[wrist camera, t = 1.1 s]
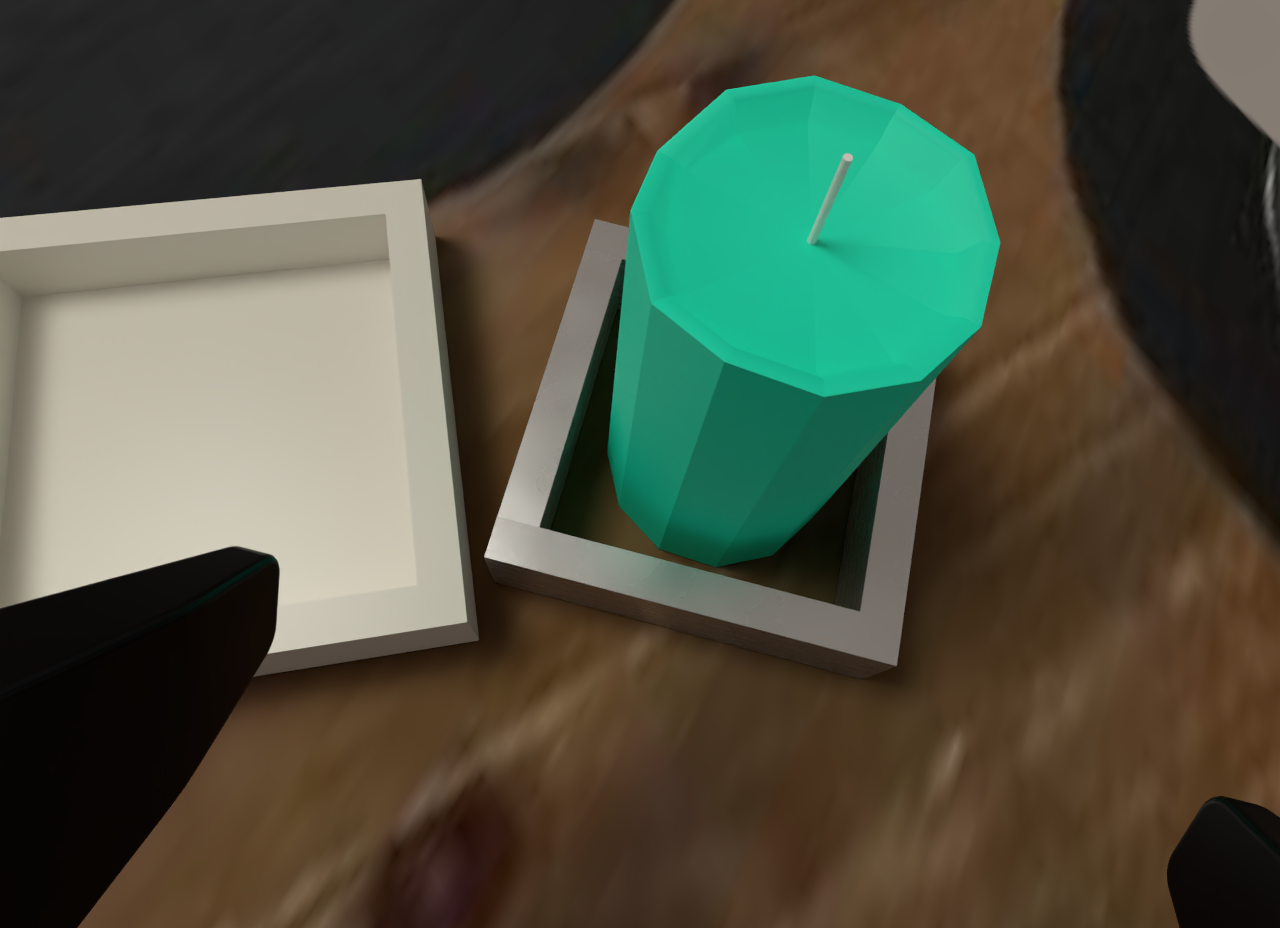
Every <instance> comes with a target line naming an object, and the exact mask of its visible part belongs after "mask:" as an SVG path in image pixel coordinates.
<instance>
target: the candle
mask: <svg viewBox="0 0 1280 928" xmlns="http://www.w3.org/2000/svg"><path fill="white" fill-rule="evenodd" d="M999 246H1000V240H999V236H998V233H997V230H996V226H995V223H994V220H993V216H992V213H991V210H990V206H989V203H988V199H987V196H986V193H985V189H984V186H983V183H982V179H981V176H980V173H979V169H978V166H977V163H976V159H975V156H974V154H972V153H971V152H969V151H968V150H967V149H965V148H964V147H962V146H961V145H959V144H958V143H956V142H955V141H953V140H952V139H951V138H949V137H948V136H946V135H945V134H943V133H942V132H940V131H939V130H938V129H936V128H935V127H933V126H932V125H930V124H929V123H927V122H926V121H924V120H923V119H922V118H920V117H919V116H917V115H916V114H914V113H913V112H911V111H910V110H908V109H907V108H906V107H904V106H903V105H901V104H899V103H896V102H893V101H889V100H886V99H883V98H880V97H877V96H874V95H871V94H868V93H865V92H862V91H859V90H856V89H853V88H850V87H847V86H844V85H841V84H838V83H835V82H832V81H829V80H826V79H823V78H820V77H817V76H809V77H803V78H796V79H790V80H784V81H778V82H772V83H765V84H759V85H753V86H747V87H741V88H734V89H728V90H726V91H725V92H723V93H722V94H721V95H720V96H719V97H718V98H717V99H715V100H714V101H713V102H712V103H711V104H710V105H709V106H707V107H706V108H705V109H704V110H703V111H702V112H701V113H700V114H698V115H697V116H696V117H695V118H694V119H693V120H692V121H690V122H689V123H688V124H687V125H686V126H685V127H684V128H683V129H681V130H680V131H679V132H678V133H677V134H676V135H675V136H673V137H672V138H671V139H670V140H669V141H668V142H667V143H666V144H664V145H663V146H662V147H661V148H660V149H659V150H658V151H657V153H656V155H655V157H654V160H653V162H652V164H651V166H650V169H649V171H648V173H647V175H646V177H645V180H644V182H643V184H642V186H641V188H640V191H639V193H638V195H637V197H636V200H635V202H634V204H633V206H632V208H631V213H630V223H629V233H628V243H627V254H626V264H625V274H624V285H623V295H622V305H621V315H620V326H619V336H618V346H617V356H616V367H615V377H614V387H613V398H612V408H611V418H610V428H609V439H608V449H607V454H608V459H609V463H610V468H611V472H612V477H613V481H614V486H615V490H616V495H617V499H618V504H619V507H620V508H621V509H622V510H623V511H624V512H625V513H626V514H627V515H628V516H629V517H630V518H631V519H632V521H633V522H634V523H635V524H636V525H637V526H638V527H639V528H640V529H641V530H642V531H643V532H644V533H645V534H646V536H647V537H648V538H649V539H650V540H651V541H652V542H653V543H654V544H655V545H656V546H657V547H658V548H659V549H661V550H664V551H667V552H670V553H673V554H677V555H680V556H683V557H686V558H689V559H692V560H695V561H698V562H701V563H704V564H707V565H710V566H714V567H719V566H724V565H729V564H734V563H738V562H743V561H748V560H753V559H758V558H763V557H768V556H772V555H773V554H775V553H776V552H777V551H778V550H779V549H780V548H781V547H782V546H783V545H784V544H785V543H786V542H787V541H788V540H790V539H791V538H792V537H793V536H794V535H795V534H796V533H797V532H798V531H799V530H800V529H801V528H802V527H803V526H805V525H806V524H807V523H808V522H809V521H810V520H811V519H812V518H813V517H814V516H815V515H816V513H817V512H818V511H819V510H820V509H821V508H822V507H823V506H824V504H825V503H826V502H827V501H828V500H829V499H830V498H831V496H832V495H833V494H834V493H835V492H836V491H837V490H838V489H839V487H840V486H841V485H842V484H843V483H844V482H845V481H846V479H847V478H848V477H849V476H850V475H851V474H852V473H853V472H854V470H855V469H856V468H857V467H858V466H859V465H860V464H861V462H862V461H863V460H864V459H865V458H866V457H867V456H868V454H869V453H870V452H871V451H872V450H873V449H874V448H875V447H876V445H877V444H878V443H879V442H880V441H881V440H882V439H883V437H884V436H885V435H886V434H887V433H888V432H889V431H890V430H891V428H892V427H893V426H894V425H895V424H896V423H897V422H898V420H899V419H900V418H901V417H902V416H903V415H904V414H905V412H906V411H907V410H908V409H909V408H910V407H911V406H912V405H913V403H914V402H915V401H916V400H917V399H918V398H919V397H920V395H921V394H922V393H923V392H924V391H925V390H926V389H927V388H928V386H929V385H930V384H931V383H932V382H933V381H934V380H935V378H936V377H937V376H938V375H939V374H940V373H941V372H942V370H943V369H944V368H945V367H946V366H947V365H948V364H949V363H950V361H951V360H952V359H953V358H954V357H955V356H956V355H957V353H958V352H959V351H960V350H961V349H962V348H963V347H964V346H965V344H966V343H967V342H968V341H969V340H970V339H971V338H972V336H973V335H974V334H975V333H976V332H977V331H978V330H979V329H980V327H981V325H982V320H983V316H984V312H985V307H986V303H987V299H988V294H989V290H990V285H991V281H992V277H993V272H994V268H995V264H996V259H997V255H998V251H999Z"/></svg>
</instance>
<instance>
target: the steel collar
mask: <svg viewBox="0 0 1280 928" xmlns="http://www.w3.org/2000/svg"><path fill="white" fill-rule="evenodd" d="M628 233H629V228H628V227H624V226H620V225H616V224H612V223H608V222H604V221H600V220H597V219H595V221H594V224H593V227H592V230H591V233H590V236H589V239H588V242H587V245H586V248H585V251H584V254H583V257H582V260H581V263H580V266H579V269H578V273H577V276H576V279H575V282H574V285H573V288H572V291H571V294H570V297H569V300H568V303H567V306H566V309H565V312H564V315H563V318H562V321H561V324H560V327H559V330H558V333H557V336H556V340H555V343H554V346H553V349H552V352H551V355H550V358H549V361H548V364H547V367H546V370H545V373H544V376H543V379H542V382H541V385H540V388H539V391H538V394H537V397H536V400H535V403H534V406H533V410H532V413H531V416H530V419H529V422H528V425H527V428H526V431H525V434H524V437H523V440H522V443H521V446H520V449H519V452H518V455H517V458H516V461H515V464H514V467H513V470H512V473H511V477H510V480H509V483H508V486H507V489H506V492H505V495H504V498H503V501H502V504H501V507H500V510H499V513H498V516H497V519H496V522H495V525H494V528H493V531H492V534H491V537H490V540H489V543H488V547H487V550H486V553H485V556H484V558H485V561H486V563H487V566H488V568H489V571H490V573H491V576H492V578H493V581H494V582H496V583H500V584H504V585H507V586H511V587H515V588H519V589H523V590H526V591H530V592H534V593H538V594H541V595H545V596H549V597H553V598H557V599H560V600H564V601H568V602H572V603H575V604H579V605H583V606H587V607H591V608H594V609H598V610H602V611H606V612H609V613H613V614H617V615H621V616H625V617H628V618H632V619H636V620H640V621H643V622H647V623H651V624H655V625H659V626H662V627H666V628H670V629H674V630H677V631H681V632H685V633H689V634H693V635H696V636H700V637H704V638H708V639H711V640H715V641H719V642H723V643H727V644H730V645H734V646H738V647H742V648H745V649H749V650H753V651H757V652H760V653H764V654H768V655H772V656H776V657H779V658H783V659H787V660H791V661H794V662H798V663H802V664H806V665H810V666H813V667H817V668H821V669H825V670H828V671H832V672H836V673H840V674H844V675H847V676H851V677H855V678H859V679H864V678H867V677H869V676H872V675H875V674H877V673H880V672H883V671H885V670H888V669H891V668H893V667H896V666H897V661H898V654H899V647H900V639H901V632H902V625H903V617H904V610H905V603H906V596H907V588H908V581H909V574H910V566H911V559H912V552H913V544H914V537H915V530H916V522H917V515H918V508H919V500H920V493H921V486H922V478H923V471H924V464H925V456H926V449H927V442H928V434H929V427H930V420H931V412H932V405H933V398H934V390H935V383H936V378H935V380H934V381H933V382H932V383H931V384H930V385H929V386H928V388H927V389H926V390H925V391H924V392H923V393H922V394H921V395H920V397H919V398H918V399H917V400H916V401H915V402H914V403H913V405H912V406H911V407H910V408H909V409H908V410H907V411H906V412H905V414H904V415H903V416H902V417H901V418H900V419H899V420H898V422H897V423H896V424H895V425H894V426H893V427H892V428H891V430H890V431H889V432H888V433H887V434H886V435H885V436H884V437H883V439H882V440H881V441H880V442H879V443H878V444H877V445H876V447H875V448H874V449H873V450H872V451H871V452H870V453H869V454H868V456H867V457H866V458H865V459H864V460H863V461H862V462H861V464H860V465H859V466H858V467H857V471H856V477H855V483H854V489H853V495H852V501H851V507H850V513H849V519H848V525H847V530H846V536H845V542H844V548H843V554H842V560H841V566H840V572H839V578H838V584H837V590H836V596H835V602H834V605H833V604H829V603H825V602H821V601H818V600H814V599H810V598H806V597H802V596H799V595H795V594H791V593H787V592H783V591H780V590H776V589H772V588H768V587H764V586H761V585H757V584H753V583H749V582H745V581H741V580H738V579H734V578H730V577H726V576H722V575H719V574H715V573H711V572H707V571H703V570H700V569H696V568H692V567H688V566H684V565H681V564H677V563H673V562H669V561H665V560H662V559H658V558H654V557H650V556H646V555H643V554H639V553H635V552H631V551H627V550H624V549H620V548H616V547H612V546H608V545H605V544H601V543H597V542H593V541H589V540H586V539H582V538H578V537H574V536H570V535H567V534H563V533H559V532H555V531H551V527H552V524H553V520H554V517H555V514H556V510H557V507H558V504H559V500H560V497H561V494H562V491H563V487H564V484H565V481H566V477H567V474H568V471H569V467H570V464H571V461H572V457H573V454H574V451H575V448H576V444H577V441H578V438H579V434H580V431H581V428H582V424H583V421H584V418H585V414H586V411H587V408H588V405H589V401H590V398H591V395H592V391H593V388H594V385H595V381H596V378H597V375H598V371H599V368H600V365H601V362H602V358H603V355H604V352H605V348H606V345H607V342H608V338H609V335H610V332H611V328H612V325H613V322H614V319H615V315H616V312H617V309H621V305H622V295H623V285H624V274H625V264H626V254H627V243H628Z"/></svg>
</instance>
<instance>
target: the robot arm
mask: <svg viewBox="0 0 1280 928" xmlns="http://www.w3.org/2000/svg"><path fill="white" fill-rule="evenodd" d="M279 578H280V568H279V563H278V561H277V559H276V558H275V557H274V556H273V555H271V554H268V553H264V552H260V551H256V550H252V549H248V548H244V547H240V546H230V547H226V548H223V549H219V550H215V551H211V552H208V553H204V554H200V555H196V556H193V557H189V558H185V559H182V560H178V561H174V562H170V563H167V564H163V565H159V566H156V567H152V568H148V569H144V570H141V571H137V572H133V573H129V574H126V575H122V576H118V577H115V578H111V579H107V580H103V581H100V582H96V583H92V584H88V585H85V586H81V587H77V588H74V589H70V590H66V591H62V592H59V593H55V594H51V595H48V596H44V597H40V598H36V599H33V600H29V601H25V602H21V603H18V604H14V605H10V606H7V607H3V608H0V928H77V927H78V926H79V925H80V924H81V922H82V921H83V920H84V918H85V917H86V916H87V914H88V913H89V912H90V911H91V909H92V908H93V907H94V905H95V904H96V903H97V901H98V900H99V899H100V898H101V896H102V895H103V894H104V892H105V891H106V890H107V889H108V887H109V886H110V885H111V883H112V882H113V881H114V879H115V878H116V877H117V876H118V874H119V873H120V872H121V870H122V869H123V868H124V867H125V865H126V864H127V863H128V861H129V860H130V859H131V857H132V856H133V855H134V854H135V852H136V851H137V850H138V848H139V847H140V846H141V844H142V843H143V842H144V841H145V839H146V838H147V837H148V835H149V834H150V833H151V832H152V830H153V829H154V828H155V826H156V825H157V824H158V822H159V821H160V820H161V819H162V817H163V816H164V815H165V813H166V812H167V811H168V809H169V808H170V807H171V805H172V804H173V803H174V801H175V800H176V799H177V797H178V796H179V794H180V793H181V792H182V790H183V789H184V788H185V786H186V785H187V783H188V782H189V780H190V778H191V777H192V775H193V774H194V772H195V771H196V769H197V768H198V766H199V765H200V763H201V761H202V760H203V758H204V756H205V755H206V753H207V752H208V750H209V748H210V747H211V745H212V743H213V742H214V740H215V739H216V737H217V735H218V734H219V732H220V730H221V729H222V727H223V726H224V724H225V722H226V721H227V719H228V717H229V716H230V714H231V712H232V711H233V709H234V708H235V706H236V704H237V703H238V701H239V699H240V698H241V696H242V695H243V693H244V691H245V690H246V688H247V686H248V685H249V683H250V681H251V680H252V678H253V677H254V675H255V673H256V672H257V670H258V668H259V667H260V665H261V664H262V662H263V660H264V659H265V657H266V655H267V654H268V652H269V650H270V647H271V645H272V642H273V640H274V636H275V632H276V623H277V608H278V593H279ZM1167 882H1168V887H1169V891H1170V895H1171V898H1172V902H1173V906H1174V909H1175V913H1176V916H1177V920H1178V924H1179V927H1180V928H1280V817H1278V816H1277V815H1275V814H1274V813H1273V812H1271V811H1270V810H1268V809H1266V808H1264V807H1262V806H1259V805H1257V804H1253V803H1249V802H1245V801H1241V800H1237V799H1232V798H1228V797H1224V796H1218V797H1213V798H1211V799H1209V800H1208V801H1206V802H1205V803H1204V804H1203V806H1202V807H1201V808H1200V810H1199V812H1198V813H1197V815H1196V816H1195V818H1194V820H1193V821H1192V823H1191V824H1190V826H1189V828H1188V829H1187V831H1186V832H1185V834H1184V836H1183V837H1182V839H1181V840H1180V842H1179V843H1178V845H1177V847H1176V848H1175V850H1174V851H1173V853H1172V855H1171V857H1170V860H1169V863H1168V869H1167Z"/></svg>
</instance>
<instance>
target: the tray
mask: <svg viewBox="0 0 1280 928" xmlns="http://www.w3.org/2000/svg"><path fill="white" fill-rule="evenodd" d="M230 546H240V547H244V548H248V549H252V550H256V551H260V552H264V553H268V554H271V555H273V556H274V557H275V558H276V559H277V561H278V563H279V568H280V578H279V593H278V608H277V623H276V632H275V636H274V640H273V642H272V645H271V647H270V650H269V652H268V654H267V655H266V657H265V659H264V660H263V662H262V664H261V665H260V667H259V668H258V670H257V672H256V673H255V675H254V677H255V676H262V675H268V674H274V673H280V672H287V671H293V670H299V669H305V668H311V667H318V666H324V665H330V664H336V663H342V662H349V661H355V660H361V659H367V658H373V657H380V656H386V655H392V654H398V653H404V652H411V651H417V650H423V649H429V648H435V647H442V646H448V645H454V644H460V643H467V642H473V641H479V634H478V625H477V616H476V607H475V597H474V588H473V579H472V570H471V561H470V551H469V542H468V533H467V524H466V514H465V505H464V496H463V487H462V478H461V468H460V459H459V450H458V441H457V431H456V422H455V413H454V404H453V394H452V385H451V376H450V367H449V358H448V348H447V339H446V330H445V321H444V311H443V302H442V293H441V284H440V275H439V265H438V256H437V247H436V238H435V233H434V229H433V225H432V221H431V217H430V213H429V209H428V205H427V201H426V197H425V193H424V189H423V185H422V181H421V179H419V180H408V181H397V182H386V183H375V184H365V185H354V186H343V187H332V188H321V189H311V190H300V191H289V192H278V193H267V194H256V195H246V196H235V197H224V198H213V199H202V200H192V201H181V202H170V203H159V204H148V205H138V206H127V207H116V208H105V209H94V210H84V211H73V212H62V213H51V214H40V215H30V216H19V217H8V218H0V608H3V607H7V606H10V605H14V604H18V603H21V602H25V601H29V600H33V599H36V598H40V597H44V596H48V595H51V594H55V593H59V592H62V591H66V590H70V589H74V588H77V587H81V586H85V585H88V584H92V583H96V582H100V581H103V580H107V579H111V578H115V577H118V576H122V575H126V574H129V573H133V572H137V571H141V570H144V569H148V568H152V567H156V566H159V565H163V564H167V563H170V562H174V561H178V560H182V559H185V558H189V557H193V556H196V555H200V554H204V553H208V552H211V551H215V550H219V549H223V548H226V547H230Z"/></svg>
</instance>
